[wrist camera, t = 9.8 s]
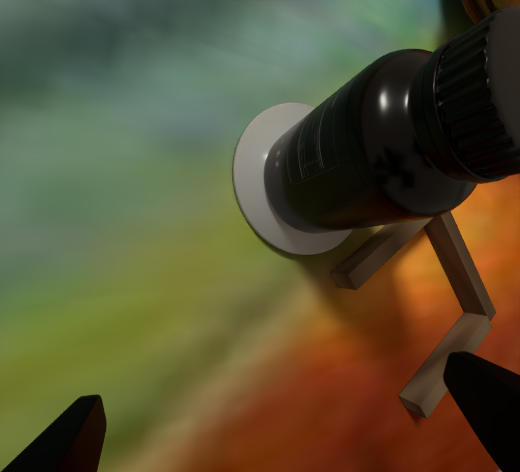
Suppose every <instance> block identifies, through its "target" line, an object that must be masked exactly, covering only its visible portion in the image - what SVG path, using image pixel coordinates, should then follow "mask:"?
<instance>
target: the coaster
mask: <svg viewBox="0 0 520 472" xmlns="http://www.w3.org/2000/svg"><path fill="white" fill-rule="evenodd" d="M314 109H315V107H312V106H310V105H306V104H301V103H283V104H279V105H275V106H273V107H271V108H268V109H266V110H265V111H263V112H262V113H260V114H259V115H258V116H257V117H256V118H255V119H254V120H252V122H251V123H250V124H249V125H248V126H247V127H246V129H245V130H244V131H243V133H242V135H241V137H240V138H239V141H238V143H237V146H236V148H235V152H234V157H233V164H232V181H233V188H234V193H235V196H236V200H237V203H238V205H239V207H240V210H241V212H242V214H243V216H244V217H245V219H246V221H247V222H248V224H249V225H250V226H251V228H252V229H253V230H254V231H255V232H256V233H257V234H258V235H259V236H260V237H261V238H262V239H263V240H265V241H266V242H267V243H268V244H270V245H272V246H273V247H275V248H277V249H279V250H282V251H284V252H288V253H291V254H299V255H313V254H319V253H323V252H326V251H328V250H331V249H333V248H334V247H336V246H338V245H339V244H340V243H341V242H343V241H344V240H345V239H346V238H347V237H348V236H349V234H350V233H351V232H352V230H353V229H350V230H343V231H336V232H328V233H318V234H312V233H305V232H302V231H299V230H296V229H294V228H292V227H291V226H289V225H288V224H286V223H285V222H284V221H283V220H282V219H281V218H280V217H279V216H278V215H277V214H276V212H275V211H274V209H273V208H272V206H271V204H270V202H269V200H268V197H267V194H266V191H265V186H264V165H265V161H266V158H267V155H268V153H269V151H270V149H271V147H272V146H273V144H274V143H275V142H276V141H277V140H278V139H279V138H280V137H281V136H282V135H283V134H284V133H286V132H287V131H288V130H289V129H290V128H291V127H293V126H294V125H295V124H296V123H298V122H299V121H300V120H301V119H303V118H304V117H305V116H306V115H308V114H309V113H310V112H311V111H312V110H314Z"/></svg>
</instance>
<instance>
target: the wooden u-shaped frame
mask: <svg viewBox="0 0 520 472" xmlns="http://www.w3.org/2000/svg"><path fill="white" fill-rule="evenodd" d="M423 227H424V228H425V230H426V232H427V235H428V237H429V239H430V241H431V243H432V245H433V247H434V249H435V251H436V253H437V256H438V258H439V260H440V262H441V264H442V266H443V268H444V270H445V272H446V275H447V277H448V279H449V281H450V283H451V285H452V287H453V289H454V291H455V293H456V296H457V298H458V300H459V302H460V304H461V306H462V308H463V310H464V313H463V315H462V316H461V317H460V318H459V320H458V321H457V322H456V323H455V325H454V326H453V327H452V329H451V330H450V331H449V332H448V334H447V335H446V336H445V337H444V339H443V340H442V341H441V342H440V344H439V345H438V346H437V347H436V349H435V350H434V351H433V353H432V354H431V355H430V356H429V358H428V359H427V360H426V361H425V363H424V364H423V365H422V366H421V368H420V369H419V370H418V371H417V373H416V374H415V375H414V376H413V378H412V379H411V380H410V382H409V383H408V384H407V385H406V387H405V388H404V389H403V390H402V392H401V393H400V394H399V397H400V399H401V401H402V402H403V404H404V406H405V407H406V408H408V409H410V410H411V411H413V412H415V413H417V414H419V415H421V416H422V417H424V418H426V419H427V418H428V417H429V416H430V414H431V413H432V411H433V410H434V409H435V407H436V406H437V404H438V403H439V402H440V400H441V399H442V397H443V396H444V395H445V393H446V392H447V390H448V389H447V387H446V385H445V383H444V380H443V373H444V369H445V365H446V361H447V358H448V355H449V354H450V353H451V352H457V351H467V352H469V353H472V354H474V352H475V351H476V350H477V348H478V347H479V345H480V344H481V343H482V341H483V340H484V338H485V337H486V336H487V334H488V333H489V331H490V330H491V329H492V326H491V324H490V321H491V319H492V318H493V317H494V315H495V314H496V311H495V309H494V307H493V304H492V302H491V300H490V298H489V296H488V293H487V291H486V289H485V287H484V284H483V282H482V280H481V278H480V276H479V273H478V271H477V269H476V267H475V265H474V262H473V260H472V258H471V256H470V253H469V251H468V249H467V247H466V245H465V242H464V240H463V238H462V236H461V234H460V231H459V229H458V227H457V225H456V223H455V220H454V218H453V216H452V214H451V211H449V212H448V213H446V214H443V215H440V216H437V217H433V218H428V219H422V220H415V221H408V222H401V223H394V224H386V225H385V226H384V227H383V228H382V229H381V230H379V231H378V232H377V233H376V234H375V235H374V236H372V237H371V238H370V239H369V240H368V241H367V242H365V243H364V244H363V245H362V246H361V247H360V248H359V249H357V250H356V251H355V252H354V253H353V254H352V255H350V256H349V257H348V258H347V259H346V260H345V261H343V262H342V263H341V264H340V265H339V266H338V267H336V268H335V269H334V270H333V271H332V272H331V275H332V277H333V279H334V281H335V282H336V284H337V286H338V287H340V288H347V289H354V290H357V289H358V288H359V287H360V286H361V285H362V284H363V283H364V282H366V281H367V280H368V279H369V278H370V277H371V276H372V275H373V274H374V273H375V272H376V271H377V270H378V269H379V268H380V267H381V266H382V265H384V264H385V263H386V262H387V261H388V260H389V259H390V258H391V257H392V256H393V255H394V254H395V253H396V252H397V251H398V250H399V249H401V248H402V247H403V246H404V245H405V244H406V243H407V242H408V241H409V240H410V239H411V238H412V237H413V236H414V235H415V234H416V233H417V232H419V231H420V230H421V229H422V228H423Z"/></svg>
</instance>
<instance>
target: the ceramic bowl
mask: <svg viewBox="0 0 520 472" xmlns="http://www.w3.org/2000/svg"><path fill="white" fill-rule="evenodd" d="M461 1H462V4H463V6H464V8H465V10H466V12H467V14H468V16H469V17H470V19H471V20H472V22H473V23H474V24H477V23H478V22H480V21H481V20H483V19H484V18H486V17H487V16H488V15H490V14H492V13H493V12H495V11H497V10H499V9H501V8H505V7H507V6H509V5H510V6H512V7H516V6H519V7H520V0H461Z"/></svg>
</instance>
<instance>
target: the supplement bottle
mask: <svg viewBox="0 0 520 472" xmlns="http://www.w3.org/2000/svg"><path fill="white" fill-rule="evenodd" d="M519 173H520V7H519V6H516V7H512V6H510V5H509V6H507V7H505V8H501V9H499V10H497V11H495V12H493V13H492V14H490V15H488V16H487V17H486V18H484V19H483V20H481V21H480V22H478V23H477V24H475V25H474V26H472V27H471V28H469V29H468V30H466V31H465V32H463V33H462V34H460V35H457V36H455V37H453V38H451V39H450V40H448V41H447V42H445V43H444V44H442V45H441V46H440V47H438V48H437V49H436V50H435V51H434V52H431V51H427V50H422V49H403V50H397V51H394V52H390V53H388V54H386V55H383V56H382V57H380V58H378V59H377V60H376V61H374V62H373V63H371V64H370V65H368V66H367V67H366V68H365V69H363V70H362V71H361V72H360V73H358V74H357V75H356V76H355V77H353V78H352V79H351V80H350V81H348V82H347V83H346V84H345V85H343V86H342V87H341V88H340V89H339V90H337V91H336V92H335V93H334V94H332V95H331V96H330V97H329V98H327V99H326V100H325V101H324V102H322V103H321V104H320V105H319V106H317V107H316V108H315V109H314V110H312V111H311V112H310V113H309V114H308V115H306V116H305V117H304V118H303V119H301V120H300V121H299V122H298V123H296V124H295V125H294V126H293V127H291V128H290V129H289V130H288V131H287V132H286V133H284V134H283V135H282V136H281V137H280V138H279V139H278V140H277V141H276V142H275V143H274V144H273V146H272V147H271V149H270V151H269V153H268V155H267V158H266V161H265V165H264V186H265V191H266V194H267V197H268V200H269V202H270V204H271V206H272V208H273V209H274V211H275V212H276V214H277V215H278V216H279V217H280V218H281V219H282V220H283V221H284V222H285V223H286V224H288V225H289V226H291V227H292V228H294V229H296V230H299V231H302V232H305V233H312V234H318V233H328V232H336V231H343V230H350V229H358V228H365V227H372V226H379V225H386V224H394V223H401V222H408V221H415V220H422V219H428V218H433V217H437V216H440V215H443V214H446V213H448V212H449V211H451V210H453V209H454V208H456V207H457V206H459V205H460V204H461V203H462V202H463V201H464V200H466V199H467V198H468V196H469V195H470V194H471V193H472V192H473V190H474V189H475V187H476V186H477V184H483V183H489V182H495V181H499V180H502V179H504V178H506V177H508V176H510V175H515V174H519Z"/></svg>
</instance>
